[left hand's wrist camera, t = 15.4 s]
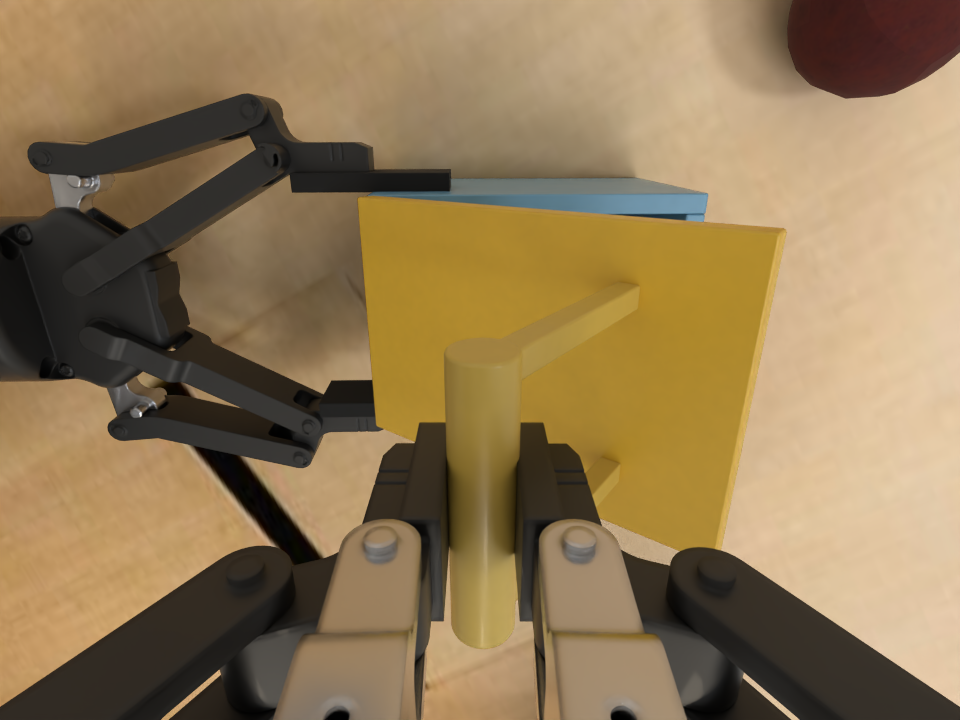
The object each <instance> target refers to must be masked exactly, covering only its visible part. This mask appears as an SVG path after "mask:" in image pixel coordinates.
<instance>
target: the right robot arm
mask: <svg viewBox="0 0 960 720" xmlns="http://www.w3.org/2000/svg"><path fill="white" fill-rule="evenodd" d="M246 136H250V138H251V140H252V142H253V144H254V146H255V148H256V150H254V151H253V152H251V153H250V154H248V155H247V156H245V157H244V158H242V159H241V160H239V161H238V162H236V163H235V164H233V165H232V166H230V167H229V168H227V169H226V170H224V171H222V172H221V173H219V174H218V175H216V176H215V177H213V178H212V179H210V180H209V181H207V182H206V183H204V184H203V185H201V186H200V187H198V188H197V189H195V190H194V191H192V192H191V193H189V194H187V195H186V196H184V197H183V198H181V199H180V200H178V201H177V202H175V203H174V204H172V205H171V206H169V207H168V208H166V209H165V210H163V211H162V212H160V213H159V214H157V215H156V216H154V217H152V218H151V219H149V220H148V221H146V222H144V223H142V224H140V225H138V226H136V227H134V228H132V229H129V228H128V227H126V226H124V225H123V224H121V223H119V222H118V221H116V220H115V219H113V218H111V217H110V216H108V215H106V214H105V213H103V212H101V211H100V210H98V209H96V208H94V207H92V201H93V198H94V197H95V195H97V194H98V193H102V192H106V191H108V190H109V189H110V188H111V187H112V183H113V182H114V181H115V176H114V174H115V173H124V172H133V171H137V170H141V169H145V168H148V167H151V166H154V165H157V164H161V163H164V162H167V161H170V160H173V159H176V158H180V157H183V156H186V155H189V154H192V153H196V152H199V151H202V150H205V149H208V148H211V147H215V146H218V145H221V144H224V143H227V142H230V141H234V140H237V139H240V138H243V137H246ZM28 159H29V161H30V163H31V164H32V166H33V167H34V168H35V169H37V170H38V171H40V172H42V173H46V174H49V178H50V183H51V187H52V192H53V197H54V202H55V206H56V208H55V209H52V210H50V211H49V212H48V213H46V214H45V215H43V216H41V217H0V382H3V381H54V380H65V379H81V380H85V381H88V382H91V383H93V384H96V385H98V386H101V387H105V388H107V389H108V392H109V395H110V397H111V400H112V403H113V405H114V408H115V411H116V413H117V417H116V418H114V419H113V420H112V421H111V422H110V423H109V424H108V432H109V433H110V435H111V436H112V437H113V438H115V439H117V440H121V441H128V440H140V439H153V438H160V439H165V440H170V441H174V442H179V443H184V444H188V445H193V446H198V447H202V448H207V449H212V450H217V451H221V452H226V453H231V454H235V455H240V456H245V457H249V458H254V459H259V460H264V461H268V462H273V463H278V464H282V465H287V466H292V467H296V468H305V467H307V466H309V465H310V463H311V461H312V459H313V457H314V455H315V453H316V451H317V449H318V447H319V445H320V443H321V440H322V438H323V435H324V434H325V433H328V432H358V431H360V432H362V431H381V430H383V428H380V427H378V426H377V425H376V417H375V405H374V393H373V381H372V380H341V381H331V382H330V384H329V386H328V388H327V390H326V392H325V393H324V394H321V393H319V392H317V391H315V390H313V389H311V388H308V387H306V386H304V385H302V384H300V383H298V382H295V381H293V380H291V379H289V378H287V377H285V376H282V375H280V374H278V373H276V372H274V371H272V370H269V369H267V368H265V367H263V366H261V365H259V364H256V363H254V362H252V361H250V360H248V359H246V358H244V357H241V356H239V355H237V354H235V353H233V352H231V351H228V350H226V349H224V348H222V347H220V346H218V345H215V344H214V343H212V341H211V338H210V337H209V336H207V335H205V334H203V333H201V332H199V331H197V330H195V329H192V328H190V327H188V325H189V324H190V322H189V317H188V312H187V308H186V306H185V304H184V302H183V300H182V298H181V296H180V294H179V287H180V275H179V270H178V265H177V262H171V260H170V258H169V257H168V255H167V254H168V253H170V252H171V251H173V250H175V249H176V248H178V247H179V246H181V245H182V244H184V243H186V242H187V241H189V240H190V239H191V237H193V236H194V235H196V234H197V233H199V232H201V231H202V230H204V229H205V228H207V227H208V226H210V225H212V224H213V223H215V222H216V221H218V220H219V219H221V218H222V217H224V216H226V215H227V214H229V213H230V212H232V211H233V210H235V209H237V208H238V207H240V206H241V205H243V204H244V203H246V202H248V201H249V200H251V199H252V198H254V197H255V196H257V195H258V194H260V193H262V192H263V191H265V190H266V189H268V188H269V187H271V186H273V185H274V184H276V183H277V182H279V181H280V180H282V179H283V178H285V177H287V176H288V175H290V181H291V189H292V193H302V192H429V191H450V188H451V169H400V170H374V158H373V147H371V146H369V145H366V144H364V143H361V142H302V141H299V140H297V139H296V138H294V137H293V136H292V134H291V133H290V132H289V130H288V128H287V126H286V123H285V121H284V119H283V111H282V108H281V106H280V105H279V103H278V102H276V101H275V100H274V99H271V98H267V97H262V96H258V95H253V94H241V95H238V96H235V97H232V98H229V99H226V100H222V101H219V102H216V103H213V104H210V105H207V106H204V107H201V108H198V109H194V110H191V111H188V112H185V113H182V114H179V115H176V116H173V117H170V118H167V119H163V120H160V121H157V122H154V123H151V124H148V125H145V126H142V127H139V128H135V129H132V130H129V131H126V132H123V133H120V134H117V135H114V136H111V137H108V138H104V139H101V140H98V141H95V142H92V143H90V142H36V143H33V144H32V145H30V147H29V149H28ZM171 348H174V349H176V350H174V351H169V350H170V349H171ZM143 371H144V372H146V373H148V374H150V375H153V376H155V377H157V378H159V379H162V380H164V381H167V382H183V383H186V384H188V385H191V386H193V387H195V388H197V389H200V390H202V391H204V392H206V393H209V394H211V395H213V396H216V397H218V398H220V399H222V400H225V401H227V402H229V403H231V404H234V405H236V406H238V407H240V408H237V407H233V406H228V405H224V404H219V403H215V402H210V401H206V400H201V399H197V398H192V397H186V396H176V395H170V396H166V395H167V393H166V391H165V390H164V389H163V388H157V389H154V388H148V387H145V386H143V385H142V384H141V383H140V382H139V381H138V379H137V377H136V376H138V375H139V374H140V373H141V372H143ZM242 408H243V409H242Z"/></svg>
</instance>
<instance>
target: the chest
mask: <svg viewBox="0 0 960 720" xmlns="http://www.w3.org/2000/svg"><path fill="white" fill-rule="evenodd" d="M368 196H384V197H396V198H409V199H421V200H434V201H446V202H459V203H472V204H484V205H497V206H509V207H522V208H534V209H547V210H559V211H572V212H585V213H597V214H610V215H622V216H635V217H647V218H660V219H673V220H685V221H698V222H704V217H705V216H704V213H705V212H706V206H707V199H708V194H707V193H703V192H699V191H694V190H690V189H685V188H681V187H676V186H672V185H667V184H663V183H658V182H654V181H649V180H645V179H639V178H482V179H451V188H450V191H429V192H373V193H371V194H369V195H368Z"/></svg>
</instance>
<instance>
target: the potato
mask: <svg viewBox="0 0 960 720" xmlns="http://www.w3.org/2000/svg"><path fill="white" fill-rule="evenodd" d="M787 32H788V48H789V51H790V54H791V57H792V59H793V62H794V65H795V68H796V70H797V71H798V72H799V73H800V74H801V75H802V77H803V78H804V79H805V80H806V81H807V82H808V83H809V84H810V85H812V86H815V87H817V88H820V89H822V90H825V91H827V92H830V93H833V94H835V95H838V96H840V97H843V98H861V97H877V96H883V95H888V94H893V93H896V92H898V91H900V90H902V89H904V88H906V87H908V86H910V85H912V84H914V83H916V82H918V81H921V80H923V79H925V78H926V77H928V76H929V75H931V74H932V73H934V72H935V71H937V70H938V69H940V68H941V67H942V66H944V65H945V64H946V63H947V62H949V61H950V60H951V59H952V58H953V57H955V56H956V55H957V54H958V53H959V52H960V0H793V2H792V5H791V9H790V13H789V20H788V28H787Z"/></svg>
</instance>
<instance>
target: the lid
mask: <svg viewBox="0 0 960 720" xmlns="http://www.w3.org/2000/svg"><path fill="white" fill-rule="evenodd" d="M357 201H358V213H359V225H360V237H361V249H362V261H363V273H364V285H365V297H366V309H367V321H368V333H369V345H370V357H371V369H372V381H373V393H374V405H375V417H376V425H377V426H378V427H380V428H383V429H385V430H387V431H390V432H392V433H395V434H397V435H400V436H402V437H404V438H407V439H409V440H412V441H414V442H415V440H416V435H417V431H418V426H419V423H420V422H446V453H447V486H448V521H449V556H450V591H451V624H452V629H453V631H454V633H455V635H456V636H457V637H458V639H459V640H460V641H461V642H463V643H464V644H466V645H468V646H470V647H473V648H477V649H489V648H493V647H496V646H499V645H501V644H502V643H504V642H505V641H506V640H507V639H508V638H509V636H510V635H511V633H512V631H513V629H514V625H515V602H516V600H517V599H518V592H517V580H516V567H515V555H514V549H515V515H516V481H517V462H518V460H519V456H520V426H521V422H543V423H544V427H545V431H546V436H547V440H548V443H567V444H568V445H569V446H570V447H571V448H572V449H573V450H574V451H575V452H576V453H577V454H578V455H579V456H580V458H581V461H582V464H583V468H584V473H585V474H586V477H587V480H588V485H589V487H590V490H591V493H592V496H593V499H594V502H595V506H596V509H597V512H598V515H599V518H601V519H603V520H606V521H608V522H610V523H613V524H615V525H618V526H620V527H623V528H625V529H627V530H630V531H632V532H635V533H637V534H639V535H642V536H644V537H647V538H649V539H652V540H654V541H656V542H659V543H661V544H664V545H666V546H669V547H671V548H673V549H676V550H678V551H682V550H684V549H687V548H692V547H707V548H713V549H717V550H721V547H722V542H723V538H724V533H725V528H726V523H727V518H728V513H729V509H730V504H731V499H732V494H733V489H734V484H735V480H736V475H737V470H738V465H739V460H740V455H741V451H742V446H743V441H744V436H745V431H746V426H747V421H748V417H749V412H750V407H751V402H752V397H753V392H754V388H755V383H756V378H757V373H758V368H759V363H760V359H761V354H762V349H763V344H764V339H765V334H766V330H767V325H768V320H769V315H770V310H771V305H772V301H773V296H774V291H775V286H776V281H777V276H778V272H779V267H780V262H781V257H782V252H783V247H784V243H785V238H786V233H787V232H786V229H784V228H773V227H760V226H748V225H735V224H723V223H710V222H698V221H685V220H673V219H660V218H647V217H635V216H622V215H610V214H597V213H585V212H572V211H559V210H547V209H534V208H522V207H509V206H497V205H484V204H472V203H459V202H446V201H434V200H421V199H409V198H396V197H384V196H365V197H359V198H358V199H357Z"/></svg>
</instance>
